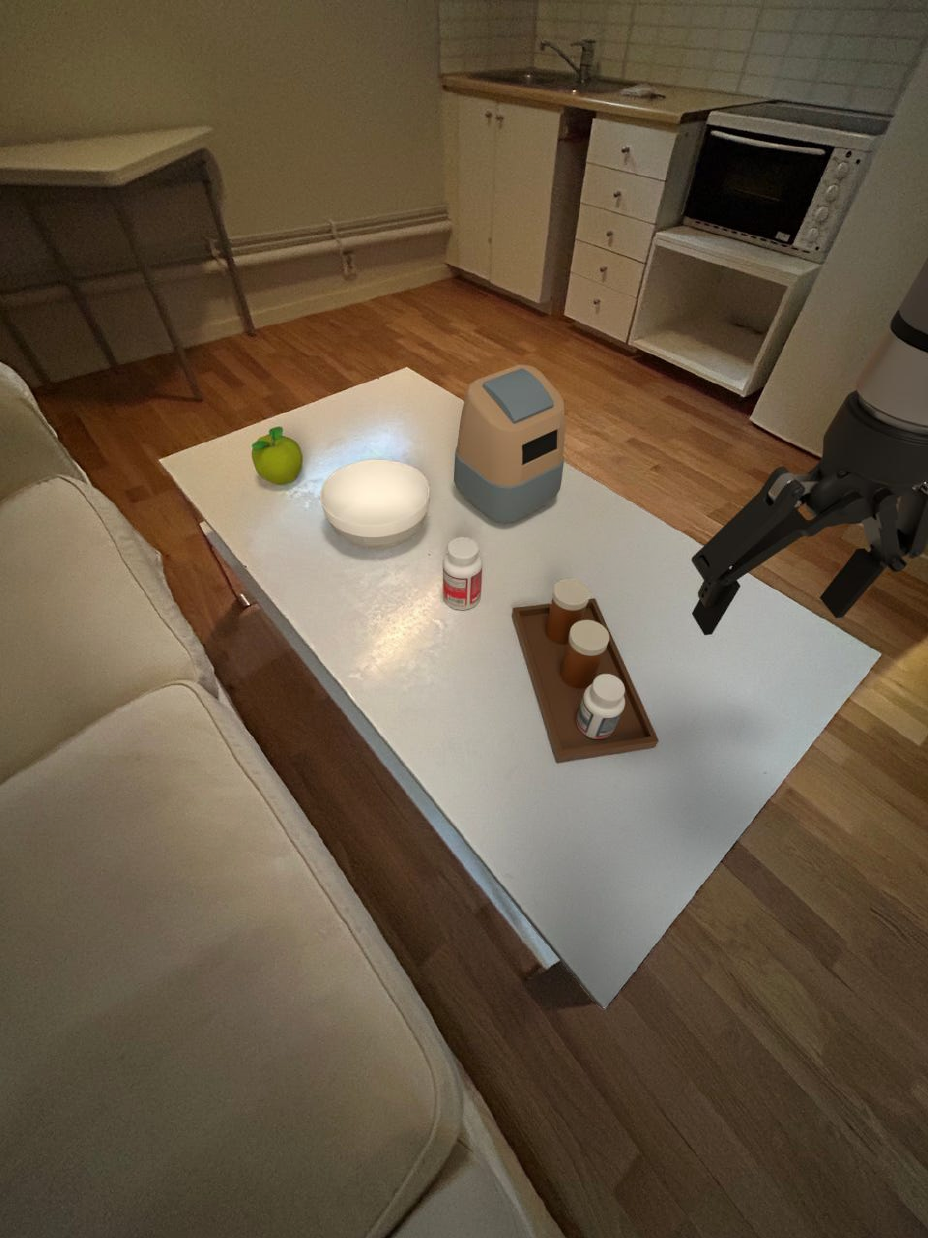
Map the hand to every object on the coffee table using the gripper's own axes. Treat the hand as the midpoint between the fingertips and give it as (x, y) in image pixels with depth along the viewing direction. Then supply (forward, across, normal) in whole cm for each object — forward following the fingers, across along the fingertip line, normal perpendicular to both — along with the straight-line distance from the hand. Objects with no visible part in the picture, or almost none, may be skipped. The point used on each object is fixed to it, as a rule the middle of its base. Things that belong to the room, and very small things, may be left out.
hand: (767, 615), depth 52 cm
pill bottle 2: (+26, +10, -5) cm, 29 cm away
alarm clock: (+27, +11, -56) cm, 63 cm away
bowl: (+27, +36, -50) cm, 67 cm away
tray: (+27, +10, -13) cm, 31 cm away
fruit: (+27, +54, -68) cm, 91 cm away
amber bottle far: (+26, +10, -21) cm, 35 cm away
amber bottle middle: (+26, +10, -13) cm, 31 cm away
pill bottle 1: (+27, +24, -31) cm, 48 cm away
